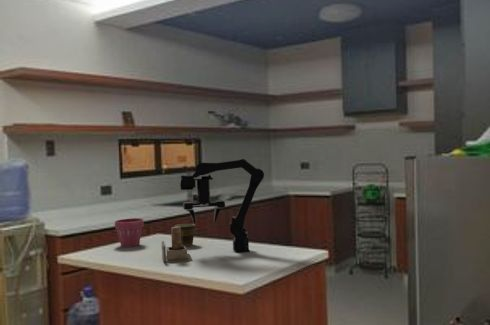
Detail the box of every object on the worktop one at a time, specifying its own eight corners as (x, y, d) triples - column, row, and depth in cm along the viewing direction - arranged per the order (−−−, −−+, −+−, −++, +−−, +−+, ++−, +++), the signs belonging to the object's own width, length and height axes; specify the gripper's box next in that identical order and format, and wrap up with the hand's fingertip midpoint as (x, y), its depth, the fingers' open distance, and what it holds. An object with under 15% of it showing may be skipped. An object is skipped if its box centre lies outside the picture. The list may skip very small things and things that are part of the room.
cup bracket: (189, 255, 215) (188, 239, 215) (192, 260, 204) (191, 244, 203) (162, 257, 213) (161, 241, 212) (163, 263, 201) (163, 246, 201)
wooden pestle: (181, 256, 211) (180, 226, 210) (182, 258, 207) (180, 227, 206) (171, 256, 210) (170, 227, 209) (172, 258, 206) (171, 228, 205)
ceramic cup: (185, 242, 246) (184, 223, 246) (200, 244, 240) (199, 224, 240) (167, 247, 235) (166, 226, 235) (182, 249, 230) (181, 228, 229)
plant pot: (110, 245, 244) (109, 220, 244) (135, 241, 254) (134, 217, 253) (124, 249, 234) (123, 222, 233) (149, 244, 243) (148, 219, 243)
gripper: (220, 187, 230) (221, 220, 231) (181, 189, 226) (182, 222, 227) (224, 189, 220) (225, 223, 220) (183, 191, 215) (185, 225, 216)
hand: (204, 223), depth 221 cm, fingers open, 9 cm apart
